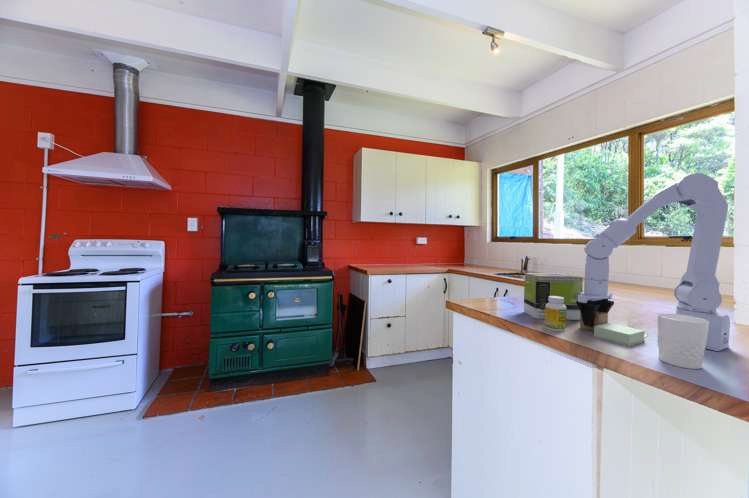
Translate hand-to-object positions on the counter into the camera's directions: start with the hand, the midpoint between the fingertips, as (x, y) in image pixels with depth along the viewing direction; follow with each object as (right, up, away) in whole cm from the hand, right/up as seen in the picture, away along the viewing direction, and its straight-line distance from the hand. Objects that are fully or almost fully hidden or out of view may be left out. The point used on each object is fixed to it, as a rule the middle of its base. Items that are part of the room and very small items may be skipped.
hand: (593, 324), depth 91 cm
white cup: (+1, -3, -24) cm, 24 cm away
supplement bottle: (-12, -1, -1) cm, 12 cm away
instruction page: (+6, -2, -3) cm, 7 cm away
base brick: (0, -2, -9) cm, 9 cm away
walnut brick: (0, -1, 0) cm, 1 cm away
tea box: (-4, -1, +15) cm, 15 cm away
